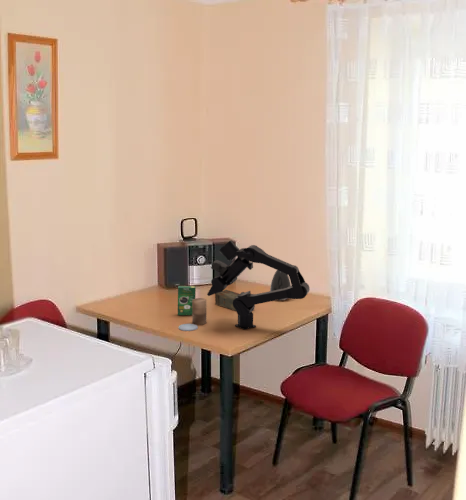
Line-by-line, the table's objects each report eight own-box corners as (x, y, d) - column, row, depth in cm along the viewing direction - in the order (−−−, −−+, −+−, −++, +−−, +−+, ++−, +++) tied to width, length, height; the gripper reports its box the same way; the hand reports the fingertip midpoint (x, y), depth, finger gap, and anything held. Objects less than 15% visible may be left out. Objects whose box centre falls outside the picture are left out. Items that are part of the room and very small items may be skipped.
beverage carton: (242, 314, 281) (242, 299, 280) (214, 305, 295) (214, 291, 293) (254, 310, 286) (255, 296, 285) (226, 301, 300) (226, 288, 299)
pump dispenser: (290, 302, 299) (291, 271, 296) (269, 301, 301) (269, 270, 298) (292, 296, 309) (292, 266, 306) (271, 295, 310) (271, 266, 307)
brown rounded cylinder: (209, 322, 267) (209, 300, 265) (197, 325, 264) (197, 302, 262) (201, 319, 272) (200, 297, 270) (189, 322, 268) (189, 299, 266)
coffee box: (195, 313, 280) (195, 285, 278) (195, 315, 277) (195, 287, 275) (177, 313, 280) (177, 285, 277) (177, 315, 277) (177, 287, 274)
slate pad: (201, 328, 260) (201, 327, 260) (185, 332, 255) (185, 331, 255) (190, 323, 266) (190, 322, 266) (174, 327, 261) (174, 326, 261)
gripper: (229, 250, 268) (206, 273, 274) (215, 258, 251) (190, 283, 256) (247, 269, 267) (223, 292, 273) (234, 279, 250) (209, 303, 256)
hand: (211, 292), depth 264 cm, fingers open, 9 cm apart
